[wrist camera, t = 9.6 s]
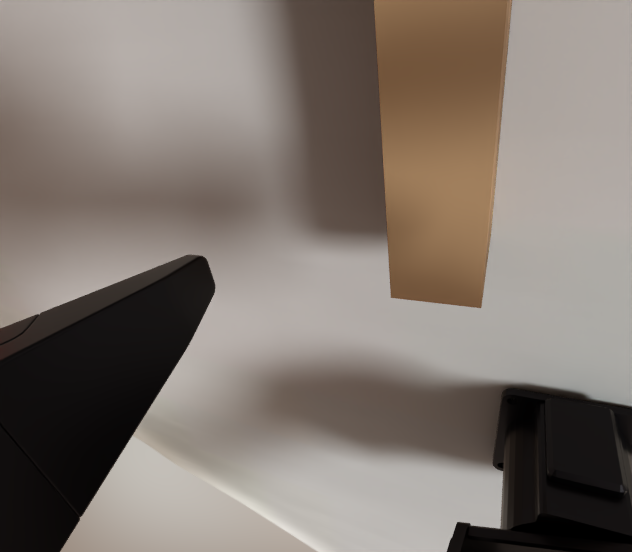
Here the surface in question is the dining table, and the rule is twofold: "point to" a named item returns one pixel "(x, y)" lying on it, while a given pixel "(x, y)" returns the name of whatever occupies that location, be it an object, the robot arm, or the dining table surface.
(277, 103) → the dining table surface
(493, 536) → the robot arm
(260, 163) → the dining table surface
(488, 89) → the rail
